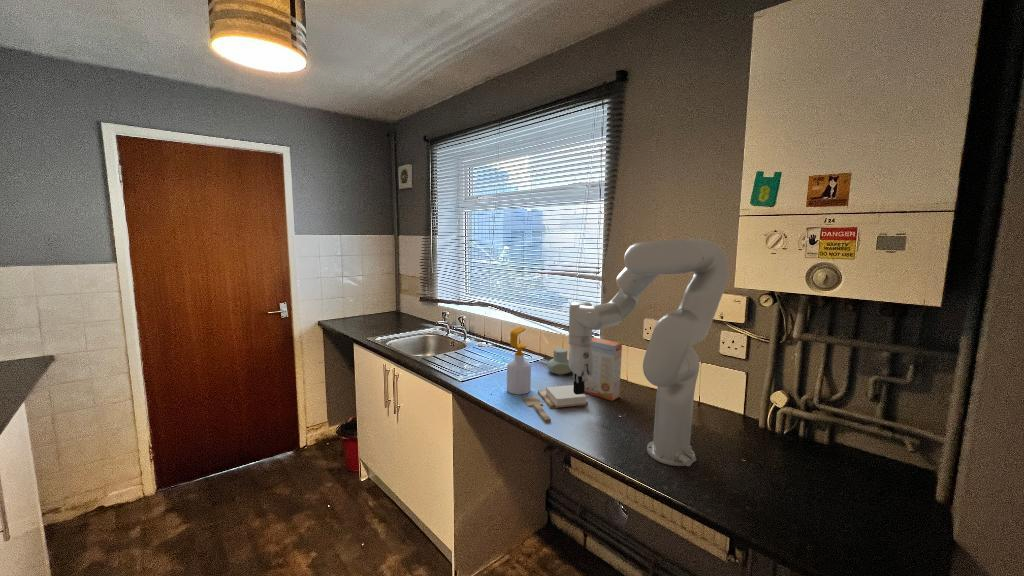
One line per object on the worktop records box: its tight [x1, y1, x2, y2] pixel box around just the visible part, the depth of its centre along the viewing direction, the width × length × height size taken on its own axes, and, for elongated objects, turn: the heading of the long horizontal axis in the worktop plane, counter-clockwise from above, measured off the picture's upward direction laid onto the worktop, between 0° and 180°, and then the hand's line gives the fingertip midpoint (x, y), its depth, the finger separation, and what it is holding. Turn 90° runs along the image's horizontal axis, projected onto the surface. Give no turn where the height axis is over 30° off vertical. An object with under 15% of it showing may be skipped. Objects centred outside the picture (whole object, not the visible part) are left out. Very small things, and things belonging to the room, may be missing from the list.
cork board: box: [537, 389, 589, 409], centre depth 156 cm, size 14×14×1 cm
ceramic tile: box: [545, 384, 587, 408], centre depth 152 cm, size 3×11×11 cm
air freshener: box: [546, 348, 572, 376], centre depth 183 cm, size 11×8×10 cm
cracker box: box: [584, 336, 623, 402], centre depth 159 cm, size 14×6×21 cm, turn 48°
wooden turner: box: [522, 395, 552, 424], centre depth 146 cm, size 20×6×1 cm, turn 15°
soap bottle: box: [506, 326, 532, 396], centre depth 161 cm, size 9×9×25 cm
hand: (578, 393), depth 141 cm, fingers closed
